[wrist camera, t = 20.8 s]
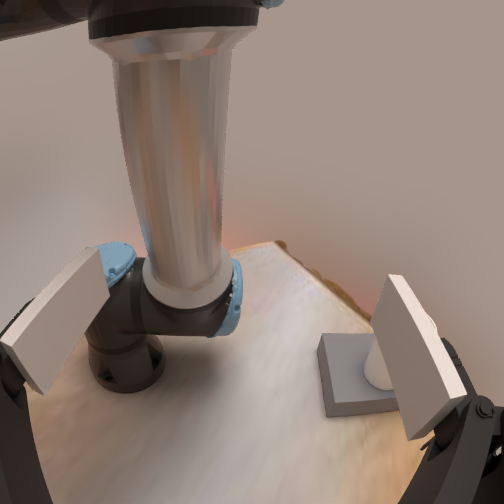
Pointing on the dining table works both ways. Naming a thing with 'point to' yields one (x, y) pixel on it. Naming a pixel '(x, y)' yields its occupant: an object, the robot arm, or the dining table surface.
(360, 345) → the riser block
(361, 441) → the dining table surface
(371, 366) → the candle holder
